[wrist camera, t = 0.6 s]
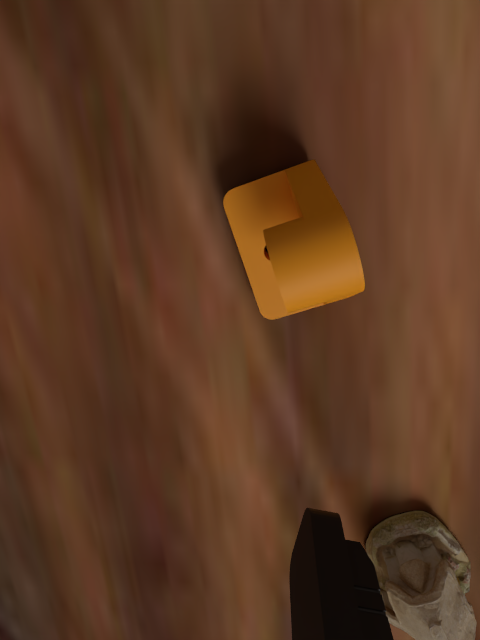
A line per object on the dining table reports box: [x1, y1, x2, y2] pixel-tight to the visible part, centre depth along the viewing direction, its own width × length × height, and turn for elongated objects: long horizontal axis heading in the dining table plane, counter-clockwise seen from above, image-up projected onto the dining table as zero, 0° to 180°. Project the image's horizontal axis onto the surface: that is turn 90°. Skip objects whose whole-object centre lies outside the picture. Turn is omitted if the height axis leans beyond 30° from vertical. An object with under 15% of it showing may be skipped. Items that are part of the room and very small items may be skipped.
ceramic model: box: [366, 511, 476, 640], centre depth 41 cm, size 14×11×10 cm
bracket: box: [223, 160, 365, 320], centre depth 28 cm, size 11×7×12 cm, turn 19°
